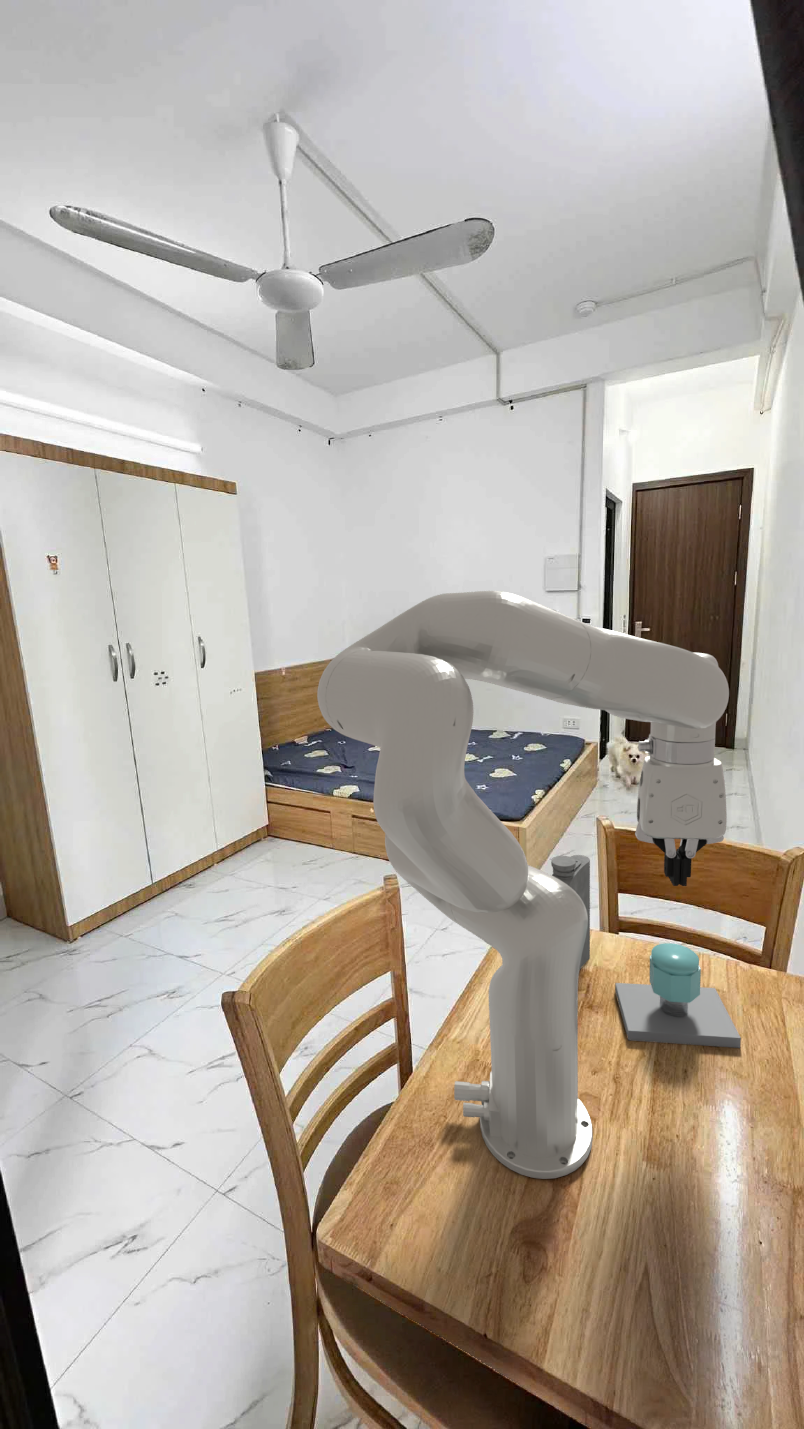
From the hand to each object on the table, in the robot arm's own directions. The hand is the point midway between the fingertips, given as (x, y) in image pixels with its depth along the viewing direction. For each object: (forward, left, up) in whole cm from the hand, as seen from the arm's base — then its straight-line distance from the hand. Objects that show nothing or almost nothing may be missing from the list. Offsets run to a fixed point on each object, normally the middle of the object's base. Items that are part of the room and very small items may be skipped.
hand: (676, 881), depth 80 cm
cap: (0, 0, -16) cm, 16 cm away
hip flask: (-14, +8, -21) cm, 27 cm away
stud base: (0, 0, -21) cm, 21 cm away
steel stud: (0, 0, -20) cm, 20 cm away
